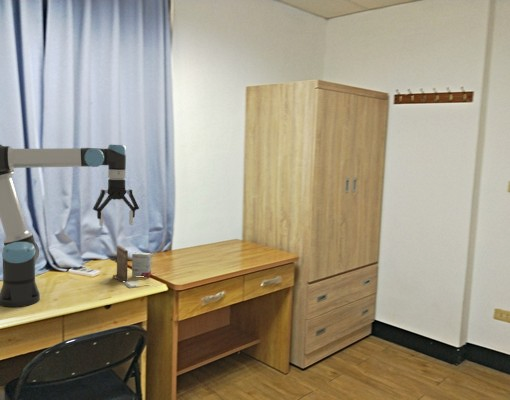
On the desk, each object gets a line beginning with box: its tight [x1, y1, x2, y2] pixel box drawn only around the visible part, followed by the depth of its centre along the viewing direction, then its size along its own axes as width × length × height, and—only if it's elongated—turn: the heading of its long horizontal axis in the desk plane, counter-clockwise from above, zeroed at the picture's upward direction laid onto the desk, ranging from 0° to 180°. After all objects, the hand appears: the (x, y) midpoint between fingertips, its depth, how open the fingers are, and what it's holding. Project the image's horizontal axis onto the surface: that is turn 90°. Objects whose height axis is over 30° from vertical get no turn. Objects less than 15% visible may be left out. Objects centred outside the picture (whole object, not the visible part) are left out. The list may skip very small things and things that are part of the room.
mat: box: [122, 279, 141, 289], centre depth 220 cm, size 10×10×1 cm
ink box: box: [131, 251, 152, 279], centre depth 233 cm, size 9×5×12 cm, turn 84°
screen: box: [112, 245, 129, 283], centre depth 227 cm, size 3×12×15 cm, turn 33°
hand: (116, 225), depth 213 cm, fingers open, 13 cm apart
